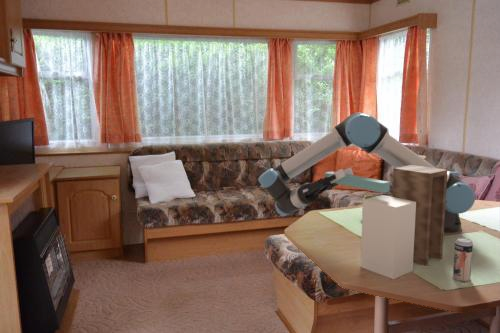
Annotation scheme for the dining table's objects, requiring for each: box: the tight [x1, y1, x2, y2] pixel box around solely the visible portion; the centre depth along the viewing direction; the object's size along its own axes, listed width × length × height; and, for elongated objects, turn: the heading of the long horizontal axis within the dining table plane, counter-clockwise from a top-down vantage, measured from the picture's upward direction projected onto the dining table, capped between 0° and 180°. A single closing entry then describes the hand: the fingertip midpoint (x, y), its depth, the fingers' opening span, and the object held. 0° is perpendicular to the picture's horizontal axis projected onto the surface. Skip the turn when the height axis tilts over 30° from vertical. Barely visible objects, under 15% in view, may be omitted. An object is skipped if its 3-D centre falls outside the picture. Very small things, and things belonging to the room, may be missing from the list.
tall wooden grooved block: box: [392, 165, 448, 267], centre depth 144 cm, size 13×10×30 cm
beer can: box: [452, 237, 474, 282], centre depth 128 cm, size 5×5×12 cm
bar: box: [324, 171, 391, 194], centre depth 143 cm, size 24×4×3 cm, turn 37°
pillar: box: [360, 194, 416, 280], centre depth 136 cm, size 12×10×22 cm
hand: (347, 172), depth 146 cm, fingers closed on bar, 3 cm apart
